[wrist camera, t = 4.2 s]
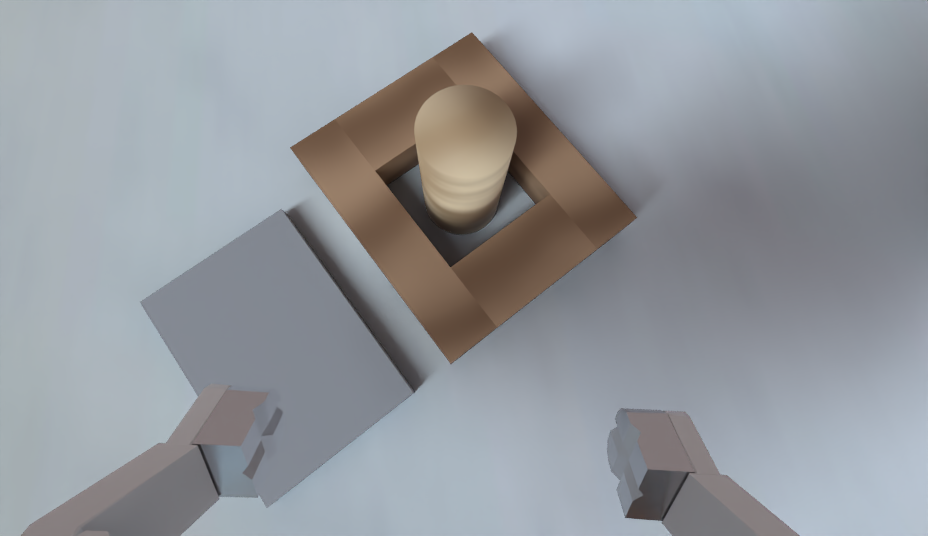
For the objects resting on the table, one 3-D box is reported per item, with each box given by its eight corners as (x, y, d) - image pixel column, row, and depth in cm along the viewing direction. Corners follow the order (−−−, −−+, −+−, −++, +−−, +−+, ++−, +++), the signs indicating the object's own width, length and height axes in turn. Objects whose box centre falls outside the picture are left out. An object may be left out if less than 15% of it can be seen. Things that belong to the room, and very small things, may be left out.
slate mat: (415, 392, 24) (413, 393, 23) (274, 501, 23) (266, 507, 22) (287, 214, 26) (281, 208, 25) (152, 304, 25) (139, 301, 24)
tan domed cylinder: (512, 206, 27) (537, 139, 19) (454, 248, 26) (456, 196, 18) (467, 152, 28) (474, 67, 20) (410, 192, 27) (393, 120, 19)
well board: (620, 231, 27) (637, 217, 24) (451, 364, 24) (451, 363, 22) (470, 60, 29) (471, 32, 27) (304, 167, 27) (290, 147, 25)
